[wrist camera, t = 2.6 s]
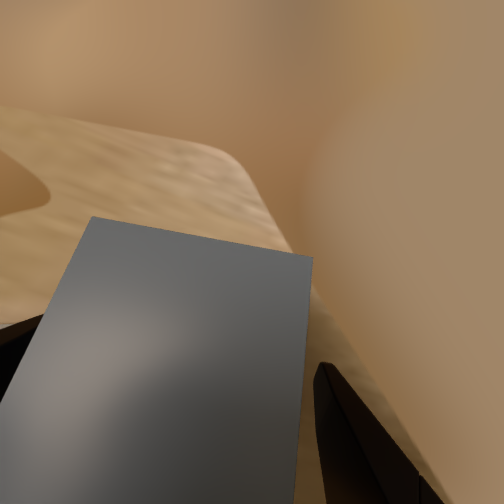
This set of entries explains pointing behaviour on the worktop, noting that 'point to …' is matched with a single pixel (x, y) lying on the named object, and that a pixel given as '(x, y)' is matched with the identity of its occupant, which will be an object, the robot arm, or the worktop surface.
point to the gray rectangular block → (161, 375)
